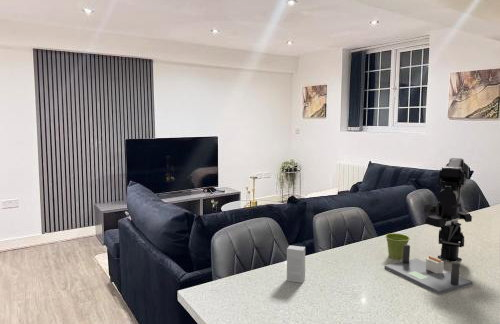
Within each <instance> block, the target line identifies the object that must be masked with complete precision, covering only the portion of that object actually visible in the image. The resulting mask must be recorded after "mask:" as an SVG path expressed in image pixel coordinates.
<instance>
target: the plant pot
mask: <svg viewBox="0 0 500 324" xmlns="http://www.w3.org/2000/svg"><path fill="white" fill-rule="evenodd" d="M385 238H386V241H387V250H388V257H389V258H392V259H394V260H403V245H405V244H406V245H408V243H409V241H410V237H409V235H406V234H403V233H394V232H393V233H387V234H385Z"/></svg>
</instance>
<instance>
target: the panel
mask: <svg viewBox="0 0 500 324" xmlns="http://www.w3.org/2000/svg"><path fill="white" fill-rule="evenodd" d="M384 269H385V270H387V271H389V272H391V273H393V274H395V275H397V276H399V277H402V278H404V279H405V280H408V281H410V282H412V283H414V284H416V285H418V286H420V287H422V288H423V289H424V288H425V289H426V290H428V291H431V292H433V293H435V294H437V295H442V294H445V293H449V292H453V291H455V290H461V289H463V288H466V287H470V286H473V285H474V281H472V280H471V279H468V278H466V277H462V276H461V275H459V284H458V285H452V284H451V271H448V270H445V269H444V268H443V273H439V274H436V273H434V272H432V271H429V270H427V269H426V261H424V260H421V259H419V258H412V259H409V264H404V263H403V260H402V261H399V262H394V263H391V264H390V263H389V264H386V265H384Z"/></svg>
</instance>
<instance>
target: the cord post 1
mask: <svg viewBox="0 0 500 324" xmlns="http://www.w3.org/2000/svg"><path fill="white" fill-rule="evenodd" d="M410 254H411V245H410V244H407V245H406V244H405V245H403V258H402V261H403V263H404V264H409V260H410V257H411V256H410Z"/></svg>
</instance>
